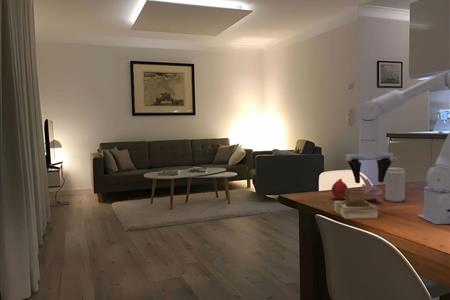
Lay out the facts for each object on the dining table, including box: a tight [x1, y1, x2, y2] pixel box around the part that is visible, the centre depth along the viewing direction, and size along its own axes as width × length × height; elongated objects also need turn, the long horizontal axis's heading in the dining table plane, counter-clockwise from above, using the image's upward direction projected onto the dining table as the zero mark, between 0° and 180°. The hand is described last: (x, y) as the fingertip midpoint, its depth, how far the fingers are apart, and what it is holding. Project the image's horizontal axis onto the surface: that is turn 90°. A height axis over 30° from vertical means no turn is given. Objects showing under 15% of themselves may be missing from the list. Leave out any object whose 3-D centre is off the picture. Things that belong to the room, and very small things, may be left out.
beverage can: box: [384, 167, 406, 203], centre depth 136 cm, size 6×6×12 cm
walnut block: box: [344, 188, 366, 207], centre depth 118 cm, size 4×4×5 cm
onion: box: [331, 178, 348, 201], centre depth 139 cm, size 6×6×8 cm
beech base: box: [333, 200, 379, 220], centre depth 118 cm, size 10×10×3 cm
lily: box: [360, 174, 384, 204], centre depth 135 cm, size 12×12×10 cm
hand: (369, 182), depth 119 cm, fingers open, 7 cm apart
